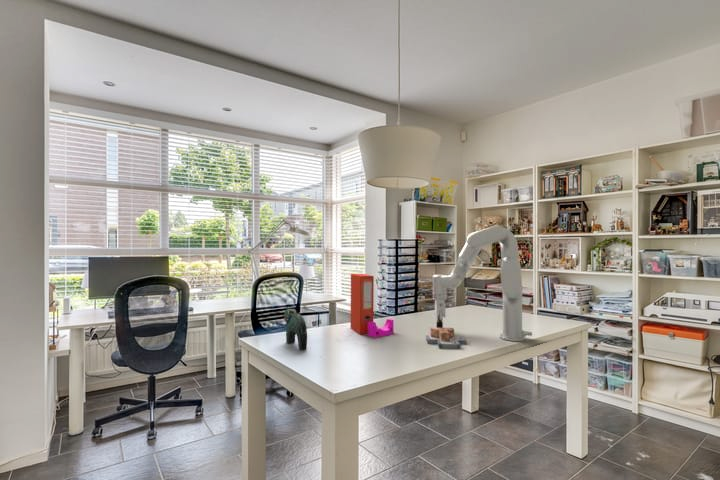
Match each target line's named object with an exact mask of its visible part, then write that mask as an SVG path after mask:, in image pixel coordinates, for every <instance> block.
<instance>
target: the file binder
mask: <svg viewBox="0 0 720 480" xmlns="http://www.w3.org/2000/svg"><path fill="white" fill-rule="evenodd" d="M374 278H375V277H374V276H373V275H370V274H365V273H351V274H350V329H351V330H353V331H355V332H356V333H357V334H358V335H362V336H363V335H368V322H370V321H372V322H374V291H375V290H374V289H375V288H374V286H375V285H374Z"/></svg>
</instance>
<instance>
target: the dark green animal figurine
mask: <svg viewBox="0 0 720 480" xmlns="http://www.w3.org/2000/svg"><path fill="white" fill-rule="evenodd" d="M292 307H293V308H290V307H288V306H286V309H285V311H284V313H283V314H284V315H283V316H284V317H283V319H284V321H285V323H286V332H285V339H286V340H285V343H287V342H288V343H287V344H293V343H292V342H295V343H296V338H297V344H298V345H297V346H298V350H299V349H300V350H299V351H305V350H304V349H306V350H307V349H308V348H307V347H308V346H307V345H308V330H307V324H306V321H305V318H304V317H303V315H301V314H300V313H299V312H297V310H296V305H295V304H292Z"/></svg>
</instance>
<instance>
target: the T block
mask: <svg viewBox="0 0 720 480" xmlns="http://www.w3.org/2000/svg"><path fill="white" fill-rule="evenodd" d="M429 330H430V332H429V333H430V334H429V335H430V338H431V337H432V338H433V337H435V338H438V339H440V341H441V342H450V338H455V329H454V327H443V328H437V327H430V329H429Z"/></svg>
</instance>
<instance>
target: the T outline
mask: <svg viewBox="0 0 720 480" xmlns="http://www.w3.org/2000/svg"><path fill="white" fill-rule="evenodd" d="M429 335H430V334H429ZM429 335H428V334H426V335H425V340H426V344H429V345H430V344H432V345H436V346H437V347H438V349H444V350H445V349H449V350H452V349H454V350H455V349H457V350H459V349H461V345H467V339H466V338H465V336H463V335H459V338H457V339H456V338H455V339H453V343H445V342H443V343H442V341H441V340H440V338H431V336H429Z"/></svg>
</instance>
